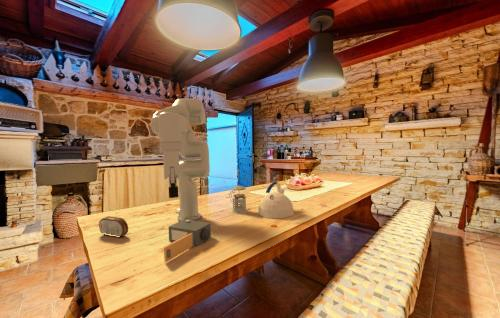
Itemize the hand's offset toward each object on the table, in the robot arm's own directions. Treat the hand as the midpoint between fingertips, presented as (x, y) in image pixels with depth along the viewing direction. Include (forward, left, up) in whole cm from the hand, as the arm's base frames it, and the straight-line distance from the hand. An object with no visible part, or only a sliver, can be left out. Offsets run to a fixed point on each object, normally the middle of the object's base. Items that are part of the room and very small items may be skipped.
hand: (173, 197), depth 78 cm
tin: (-37, 0, -20) cm, 42 cm away
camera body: (-2, +10, -20) cm, 22 cm away
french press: (-1, +52, -20) cm, 55 cm away
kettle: (+21, +56, -20) cm, 63 cm away
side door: (+4, -2, -19) cm, 20 cm away
